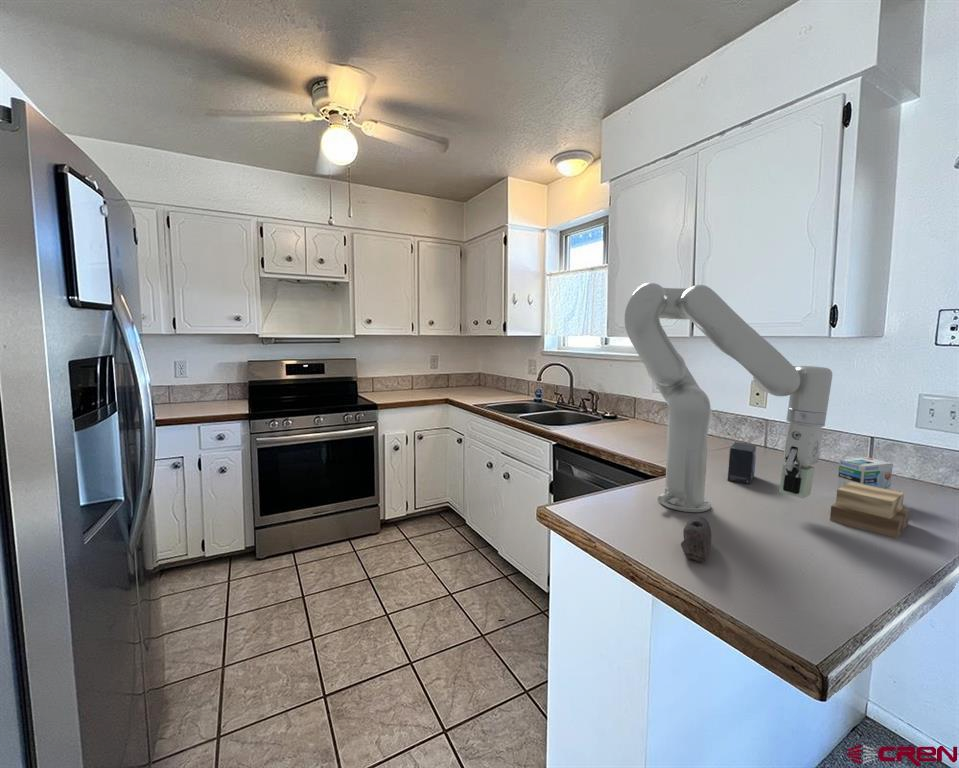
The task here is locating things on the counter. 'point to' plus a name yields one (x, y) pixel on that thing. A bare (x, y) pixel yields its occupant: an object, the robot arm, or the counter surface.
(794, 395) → the robot arm
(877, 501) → the oak slab
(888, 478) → the light bulb box
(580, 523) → the counter surface
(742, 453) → the small box
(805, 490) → the sage block
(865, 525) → the walnut slab
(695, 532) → the perforated stone tool
